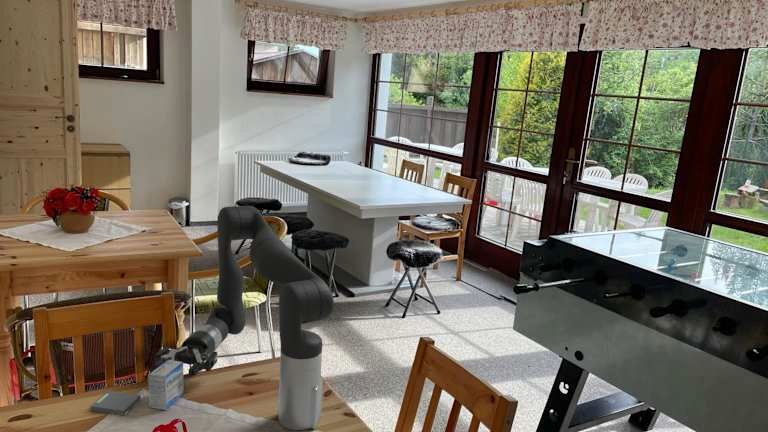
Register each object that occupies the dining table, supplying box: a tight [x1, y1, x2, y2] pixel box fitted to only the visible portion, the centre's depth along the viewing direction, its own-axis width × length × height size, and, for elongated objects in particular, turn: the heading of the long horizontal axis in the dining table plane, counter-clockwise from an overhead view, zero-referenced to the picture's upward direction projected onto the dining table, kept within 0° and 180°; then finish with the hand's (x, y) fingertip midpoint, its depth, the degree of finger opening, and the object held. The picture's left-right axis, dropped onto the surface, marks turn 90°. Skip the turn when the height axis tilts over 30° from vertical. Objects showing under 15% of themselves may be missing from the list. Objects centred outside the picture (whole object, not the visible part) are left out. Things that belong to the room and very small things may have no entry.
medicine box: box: [147, 359, 185, 411], centre depth 140 cm, size 8×4×9 cm, turn 168°
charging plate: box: [90, 390, 141, 416], centre depth 137 cm, size 8×7×1 cm
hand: (173, 371), depth 142 cm, fingers open, 8 cm apart
